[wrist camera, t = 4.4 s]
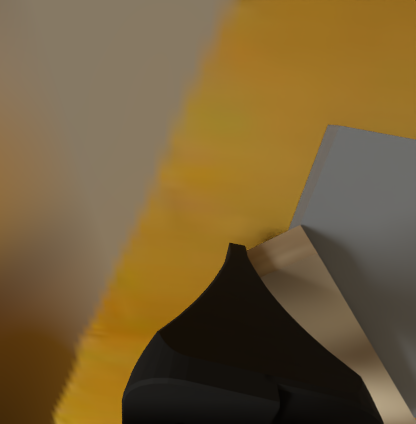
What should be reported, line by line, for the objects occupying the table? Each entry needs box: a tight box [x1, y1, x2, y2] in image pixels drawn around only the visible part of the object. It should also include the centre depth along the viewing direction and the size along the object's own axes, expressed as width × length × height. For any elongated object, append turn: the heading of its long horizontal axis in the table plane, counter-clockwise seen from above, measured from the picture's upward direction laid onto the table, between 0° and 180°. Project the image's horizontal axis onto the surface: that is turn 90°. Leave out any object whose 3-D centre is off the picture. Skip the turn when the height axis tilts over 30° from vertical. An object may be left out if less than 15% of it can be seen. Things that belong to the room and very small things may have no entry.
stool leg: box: [247, 225, 416, 424], centre depth 12 cm, size 16×3×2 cm, turn 35°
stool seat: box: [288, 125, 416, 418], centre depth 13 cm, size 18×14×1 cm
